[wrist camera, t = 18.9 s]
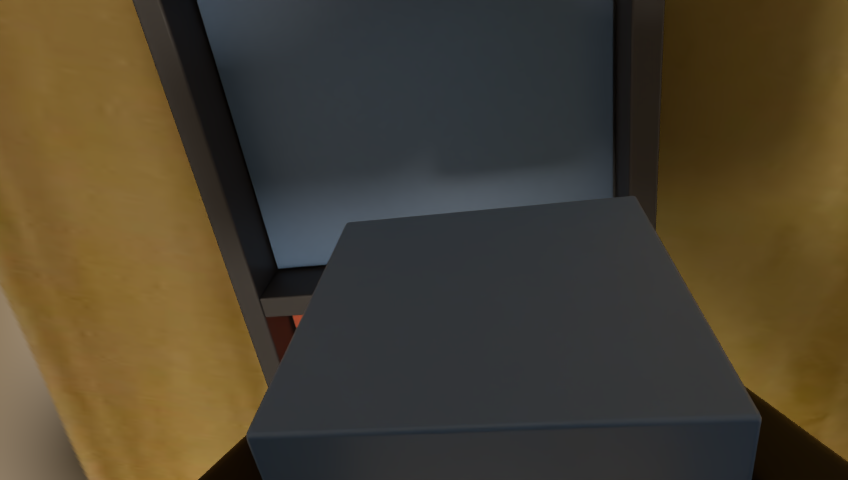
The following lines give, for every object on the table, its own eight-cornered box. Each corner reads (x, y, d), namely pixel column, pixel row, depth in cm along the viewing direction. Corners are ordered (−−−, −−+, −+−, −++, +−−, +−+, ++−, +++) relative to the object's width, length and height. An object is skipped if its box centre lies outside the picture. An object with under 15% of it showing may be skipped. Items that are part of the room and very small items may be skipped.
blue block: (636, 194, 8) (765, 417, 5) (629, 416, 10) (716, 702, 7) (345, 220, 9) (242, 436, 5) (393, 425, 11) (344, 690, 7)
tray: (643, -122, 15) (671, -132, 13) (630, 461, 25) (644, 515, 22) (168, -39, 17) (119, -35, 15) (328, 469, 27) (313, 518, 25)
